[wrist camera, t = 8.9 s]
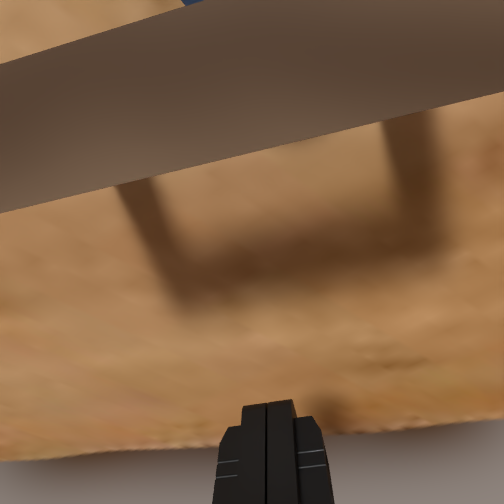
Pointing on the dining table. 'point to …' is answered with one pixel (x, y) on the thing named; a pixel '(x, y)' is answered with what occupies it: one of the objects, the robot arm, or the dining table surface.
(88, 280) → the dining table surface
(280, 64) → the bridge
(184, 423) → the dining table surface
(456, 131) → the dining table surface
